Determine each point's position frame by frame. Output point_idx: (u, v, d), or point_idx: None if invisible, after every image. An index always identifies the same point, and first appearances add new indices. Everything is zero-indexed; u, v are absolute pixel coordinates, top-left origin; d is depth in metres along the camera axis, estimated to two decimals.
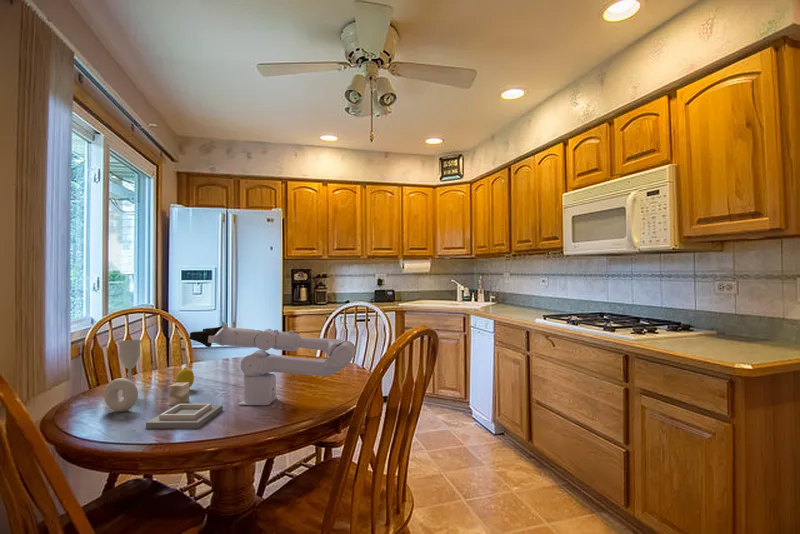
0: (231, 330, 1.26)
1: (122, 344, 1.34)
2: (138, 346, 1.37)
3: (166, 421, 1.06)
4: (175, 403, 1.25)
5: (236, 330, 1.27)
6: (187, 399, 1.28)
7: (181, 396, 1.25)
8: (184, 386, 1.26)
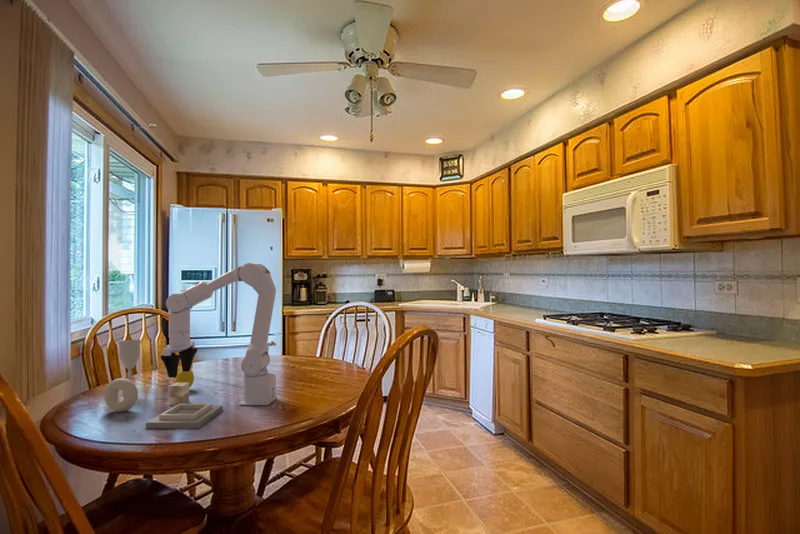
0: None
1: (122, 344, 1.34)
2: (138, 346, 1.37)
3: (166, 421, 1.06)
4: (175, 403, 1.25)
5: None
6: (187, 399, 1.28)
7: (181, 396, 1.25)
8: (184, 386, 1.26)
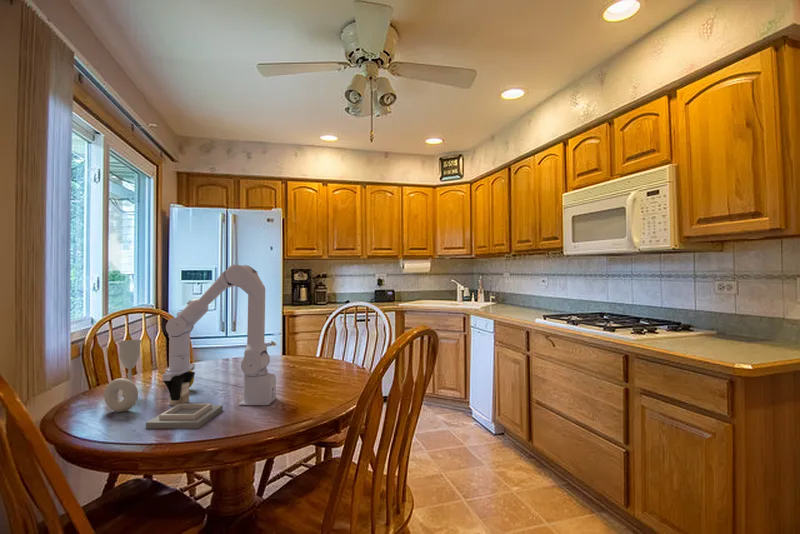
0: (169, 361, 1.25)
1: (122, 344, 1.34)
2: (138, 346, 1.37)
3: (166, 421, 1.06)
4: (175, 403, 1.25)
5: (169, 356, 1.26)
6: (187, 399, 1.28)
7: (181, 396, 1.25)
8: (184, 386, 1.26)
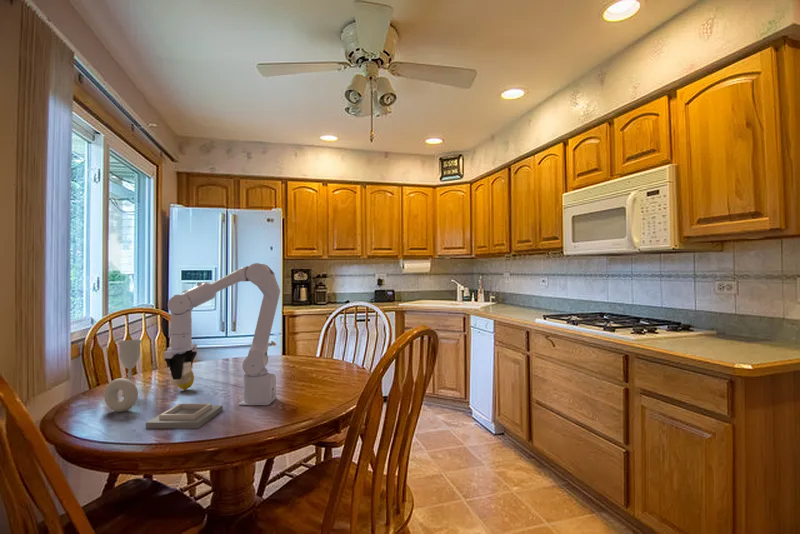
0: None
1: (122, 344, 1.34)
2: (138, 346, 1.37)
3: (166, 421, 1.06)
4: (176, 382, 1.22)
5: None
6: (189, 378, 1.25)
7: (183, 375, 1.22)
8: (186, 365, 1.23)
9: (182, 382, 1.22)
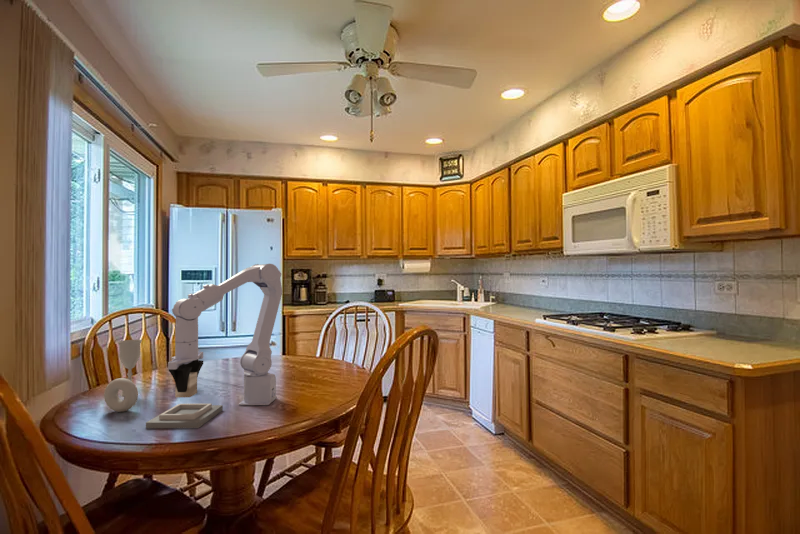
0: (175, 348, 1.11)
1: (122, 344, 1.34)
2: (138, 346, 1.37)
3: (166, 421, 1.06)
4: (181, 395, 1.11)
5: (175, 343, 1.12)
6: (195, 391, 1.14)
7: (188, 387, 1.11)
8: (192, 376, 1.12)
9: (188, 395, 1.11)
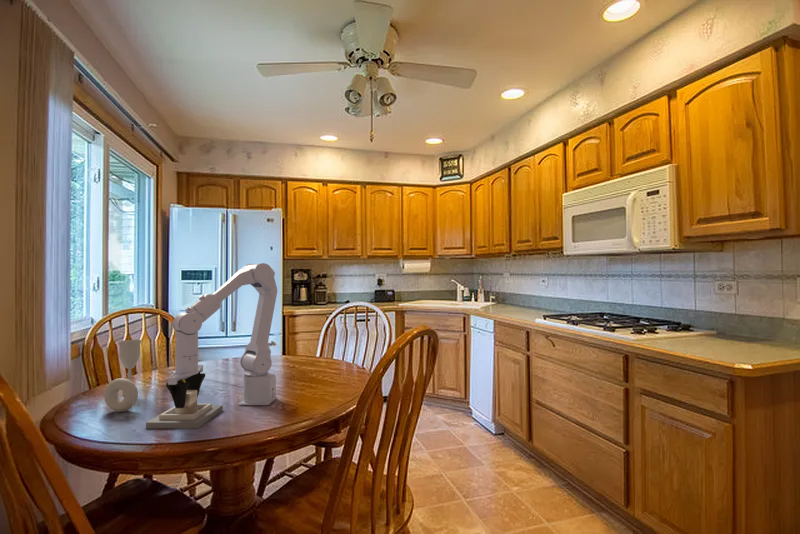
0: (175, 362, 1.11)
1: (122, 344, 1.34)
2: (138, 346, 1.37)
3: (166, 421, 1.06)
4: (182, 413, 1.11)
5: (175, 357, 1.12)
6: (195, 409, 1.14)
7: (188, 406, 1.11)
8: (192, 394, 1.12)
9: (188, 413, 1.11)
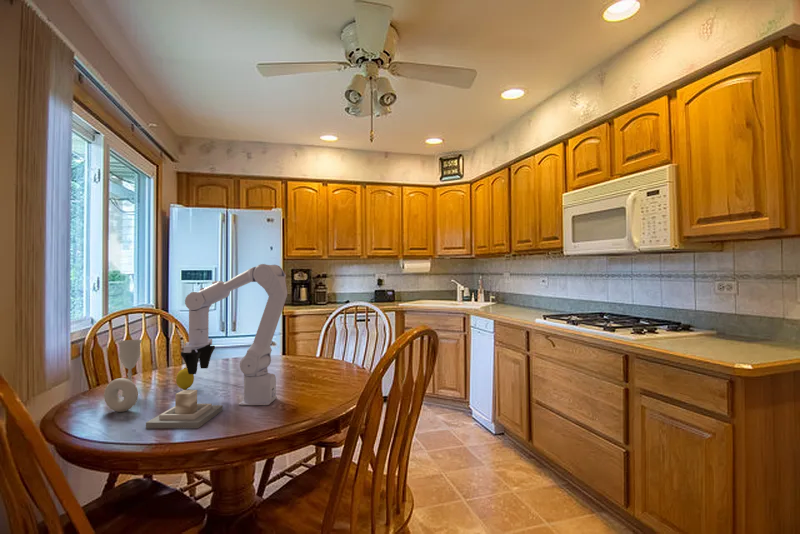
0: None
1: (122, 344, 1.34)
2: (138, 346, 1.37)
3: (166, 421, 1.06)
4: (182, 413, 1.11)
5: (189, 330, 1.28)
6: (195, 409, 1.14)
7: (188, 406, 1.11)
8: (192, 394, 1.12)
9: (188, 413, 1.11)
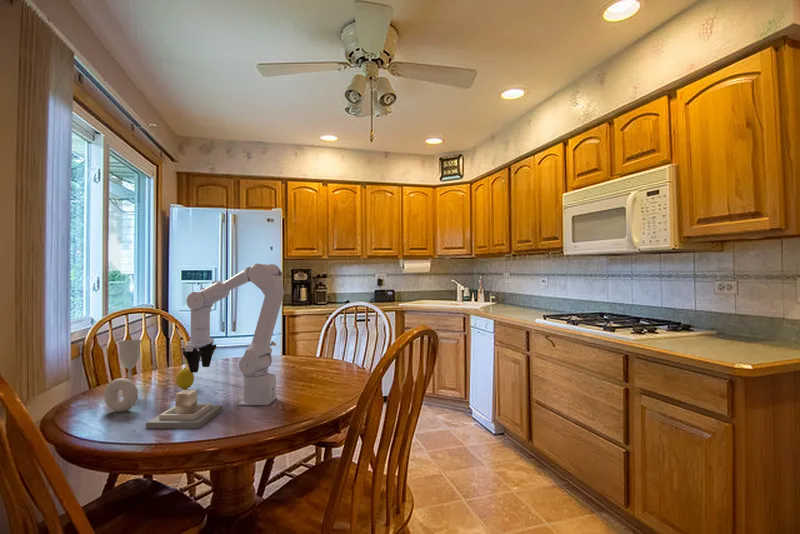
0: None
1: (122, 344, 1.34)
2: (138, 346, 1.37)
3: (166, 421, 1.06)
4: (182, 413, 1.11)
5: None
6: (195, 409, 1.14)
7: (188, 406, 1.11)
8: (192, 394, 1.12)
9: (188, 413, 1.11)
